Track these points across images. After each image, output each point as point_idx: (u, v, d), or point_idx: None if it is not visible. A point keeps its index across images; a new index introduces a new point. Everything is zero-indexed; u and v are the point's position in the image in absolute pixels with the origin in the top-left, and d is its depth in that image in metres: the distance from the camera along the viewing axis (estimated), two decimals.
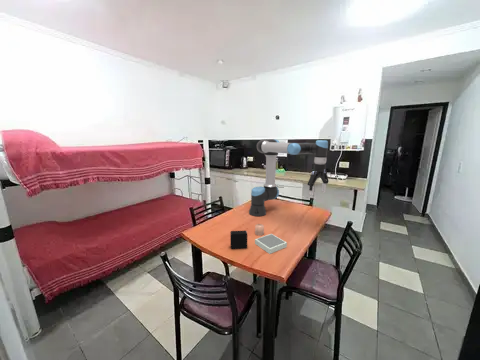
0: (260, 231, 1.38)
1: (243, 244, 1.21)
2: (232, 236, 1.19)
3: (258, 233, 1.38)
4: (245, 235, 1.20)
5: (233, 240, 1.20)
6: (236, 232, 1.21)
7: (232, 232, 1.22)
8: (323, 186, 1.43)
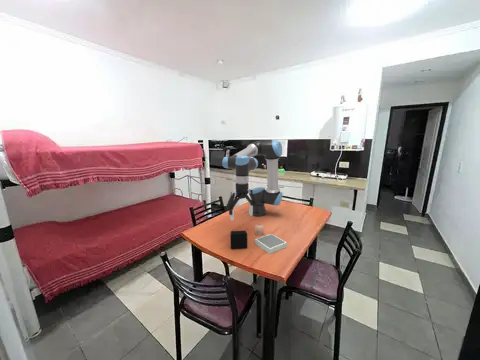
0: (260, 231, 1.38)
1: (243, 244, 1.21)
2: (232, 236, 1.19)
3: (258, 233, 1.38)
4: (245, 235, 1.20)
5: (233, 240, 1.20)
6: (236, 232, 1.21)
7: (232, 232, 1.22)
8: (250, 208, 1.23)
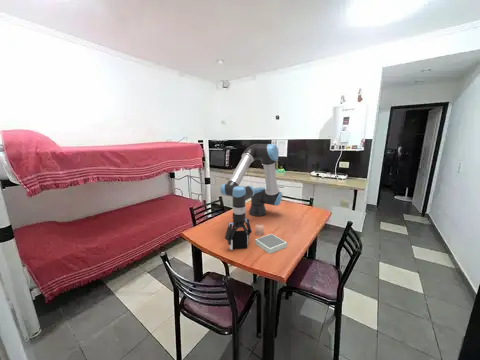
0: (260, 231, 1.38)
1: (243, 244, 1.21)
2: None
3: (258, 233, 1.38)
4: (245, 235, 1.20)
5: (233, 240, 1.20)
6: (236, 232, 1.21)
7: None
8: None
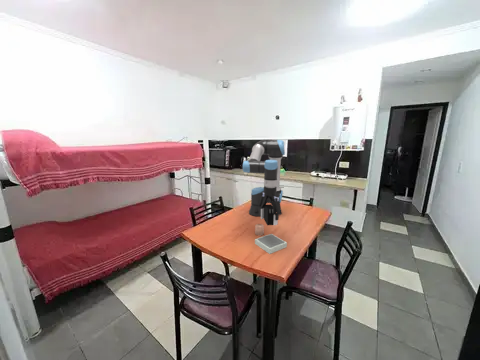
0: (260, 231, 1.38)
1: (266, 219, 1.20)
2: (264, 207, 1.25)
3: (258, 233, 1.38)
4: (267, 211, 1.17)
5: (264, 211, 1.24)
6: (268, 205, 1.22)
7: (268, 204, 1.24)
8: None
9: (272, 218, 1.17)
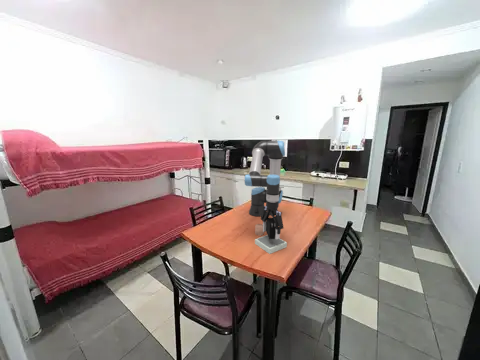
0: (260, 231, 1.38)
1: (268, 233, 1.21)
2: (266, 220, 1.26)
3: (258, 233, 1.38)
4: (269, 224, 1.19)
5: (266, 224, 1.26)
6: (270, 219, 1.24)
7: (270, 218, 1.26)
8: None
9: (274, 232, 1.19)
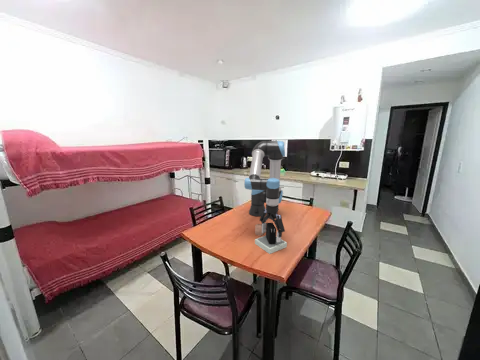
0: (260, 231, 1.38)
1: (268, 238, 1.22)
2: (266, 225, 1.27)
3: (258, 233, 1.38)
4: (269, 230, 1.20)
5: (266, 229, 1.27)
6: (270, 224, 1.25)
7: None
8: None
9: (273, 237, 1.20)
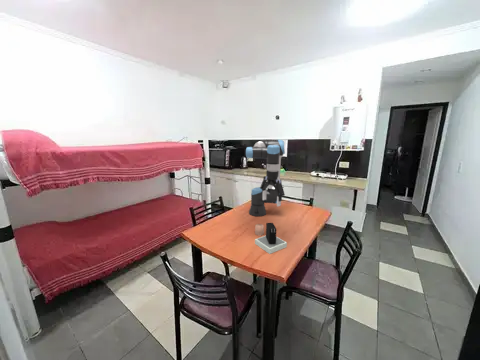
0: (260, 231, 1.38)
1: (268, 238, 1.22)
2: (266, 225, 1.27)
3: (258, 233, 1.38)
4: (269, 230, 1.20)
5: (266, 229, 1.27)
6: (270, 224, 1.25)
7: None
8: None
9: (274, 237, 1.20)
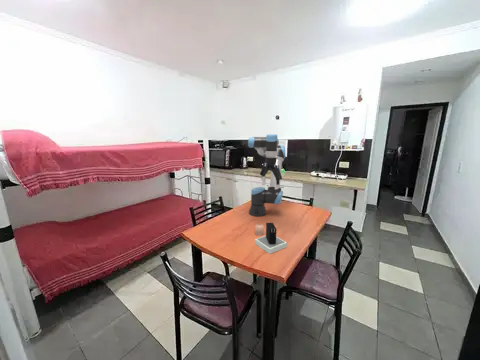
0: (260, 231, 1.38)
1: (268, 238, 1.22)
2: (266, 225, 1.27)
3: (258, 233, 1.38)
4: (269, 230, 1.20)
5: (266, 229, 1.27)
6: (270, 224, 1.25)
7: None
8: None
9: (274, 237, 1.20)
